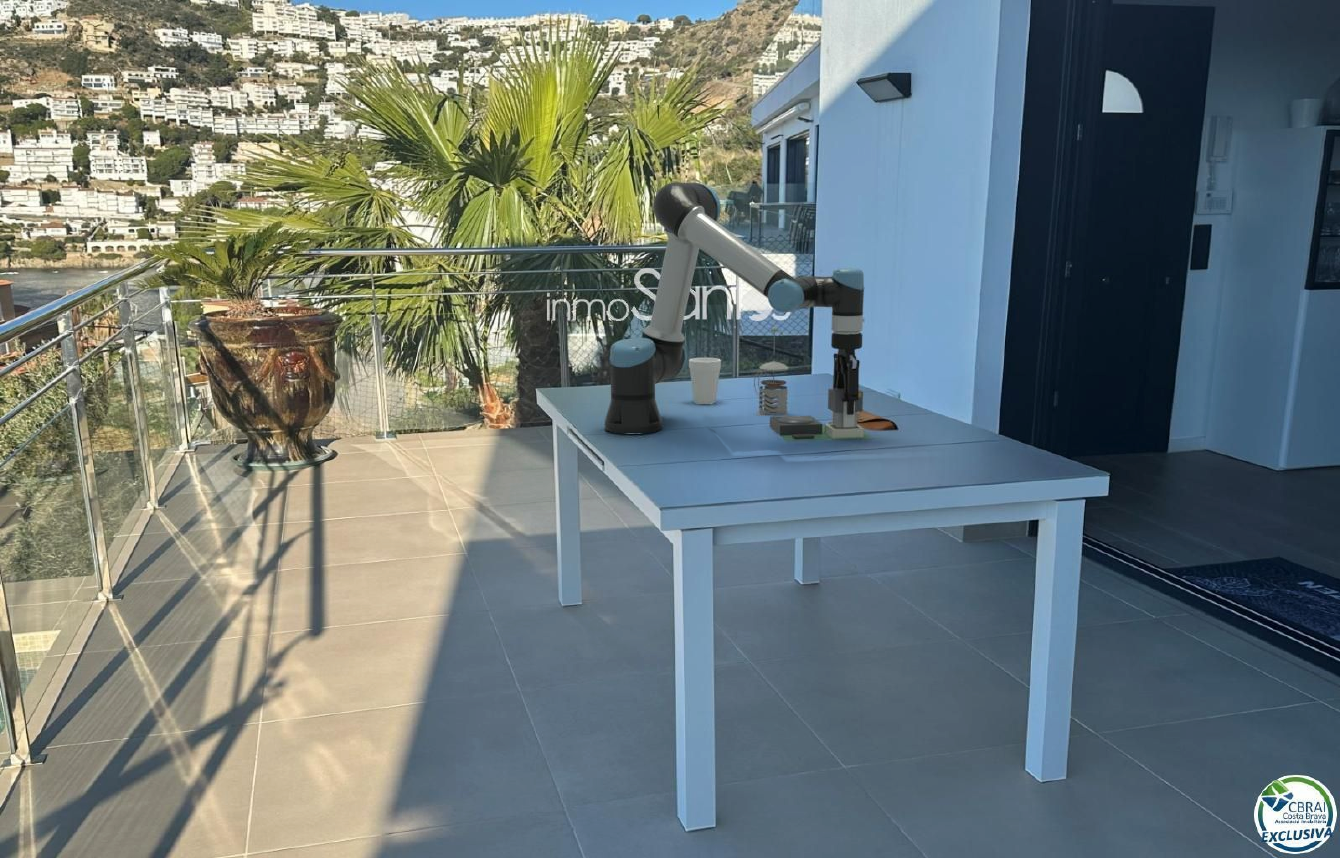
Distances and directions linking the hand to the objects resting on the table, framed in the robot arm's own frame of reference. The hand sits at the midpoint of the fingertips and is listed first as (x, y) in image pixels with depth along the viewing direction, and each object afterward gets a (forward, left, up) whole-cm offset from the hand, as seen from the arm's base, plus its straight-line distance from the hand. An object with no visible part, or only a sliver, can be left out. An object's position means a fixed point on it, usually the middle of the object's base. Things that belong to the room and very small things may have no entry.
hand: (844, 424), depth 258 cm
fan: (-11, +8, -3) cm, 13 cm away
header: (0, 0, -3) cm, 3 cm away
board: (-5, +4, -4) cm, 8 cm away
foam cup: (-26, +55, -4) cm, 61 cm away
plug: (0, 0, 0) cm, 0 cm away
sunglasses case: (+10, +12, -5) cm, 16 cm away
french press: (-11, +33, -4) cm, 35 cm away
